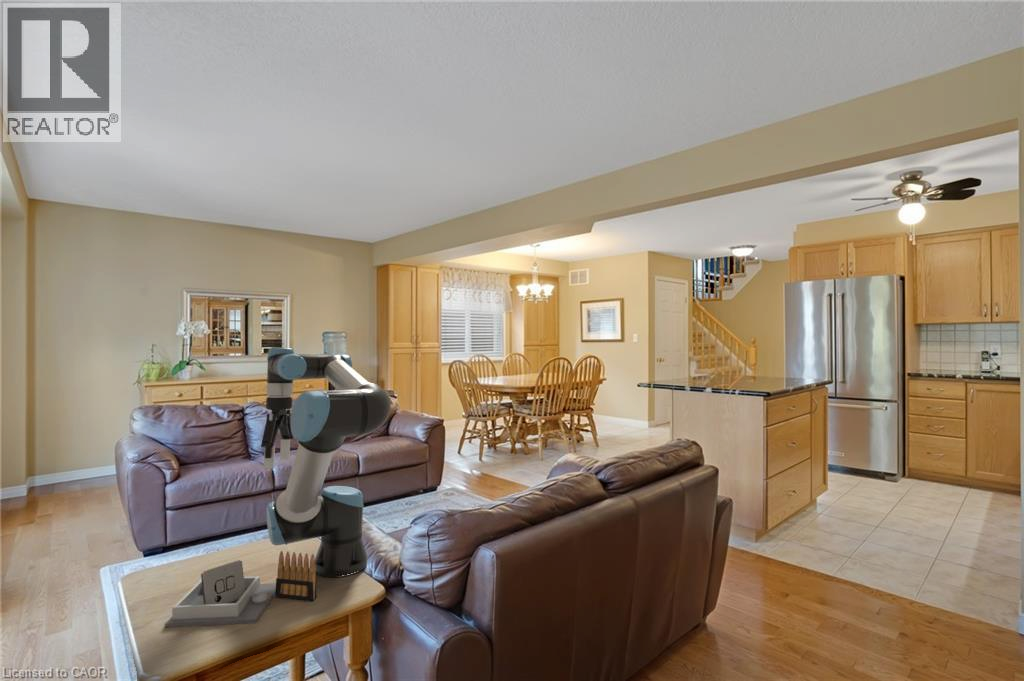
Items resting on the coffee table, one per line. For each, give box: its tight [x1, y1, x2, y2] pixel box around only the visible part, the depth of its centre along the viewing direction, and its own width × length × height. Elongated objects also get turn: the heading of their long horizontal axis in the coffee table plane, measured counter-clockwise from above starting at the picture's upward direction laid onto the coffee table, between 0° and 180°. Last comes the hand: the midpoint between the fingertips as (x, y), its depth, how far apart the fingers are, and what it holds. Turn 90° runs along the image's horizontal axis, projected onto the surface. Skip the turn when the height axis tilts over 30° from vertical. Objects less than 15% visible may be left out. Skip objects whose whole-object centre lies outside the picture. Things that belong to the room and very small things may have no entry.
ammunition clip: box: [274, 550, 317, 603], centre depth 131 cm, size 11×2×12 cm, turn 82°
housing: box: [164, 575, 276, 628], centre depth 127 cm, size 20×18×4 cm
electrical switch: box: [200, 559, 245, 605], centre depth 127 cm, size 9×5×9 cm, turn 144°
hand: (277, 464), depth 158 cm, fingers open, 13 cm apart
